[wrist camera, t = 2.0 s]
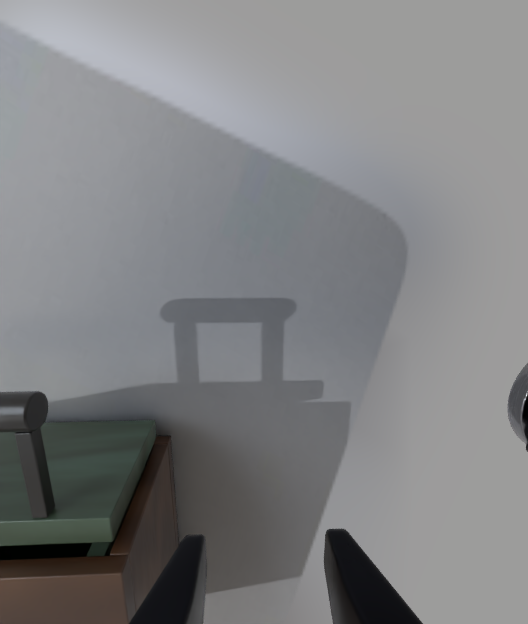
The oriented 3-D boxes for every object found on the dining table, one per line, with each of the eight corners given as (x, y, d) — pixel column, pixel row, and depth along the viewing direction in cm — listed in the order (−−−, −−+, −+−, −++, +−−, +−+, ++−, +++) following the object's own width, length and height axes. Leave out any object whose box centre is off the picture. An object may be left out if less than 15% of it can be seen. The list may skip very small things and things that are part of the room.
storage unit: (-24, 440, 21) (-205, 588, 12) (170, 435, 21) (121, 573, 13) (18, 607, 24) (-101, 808, 16) (183, 599, 25) (151, 790, 16)
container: (-53, 337, 18) (-237, 409, 11) (147, 334, 19) (88, 402, 12) (10, 590, 23) (-92, 751, 16) (169, 582, 23) (137, 736, 16)
